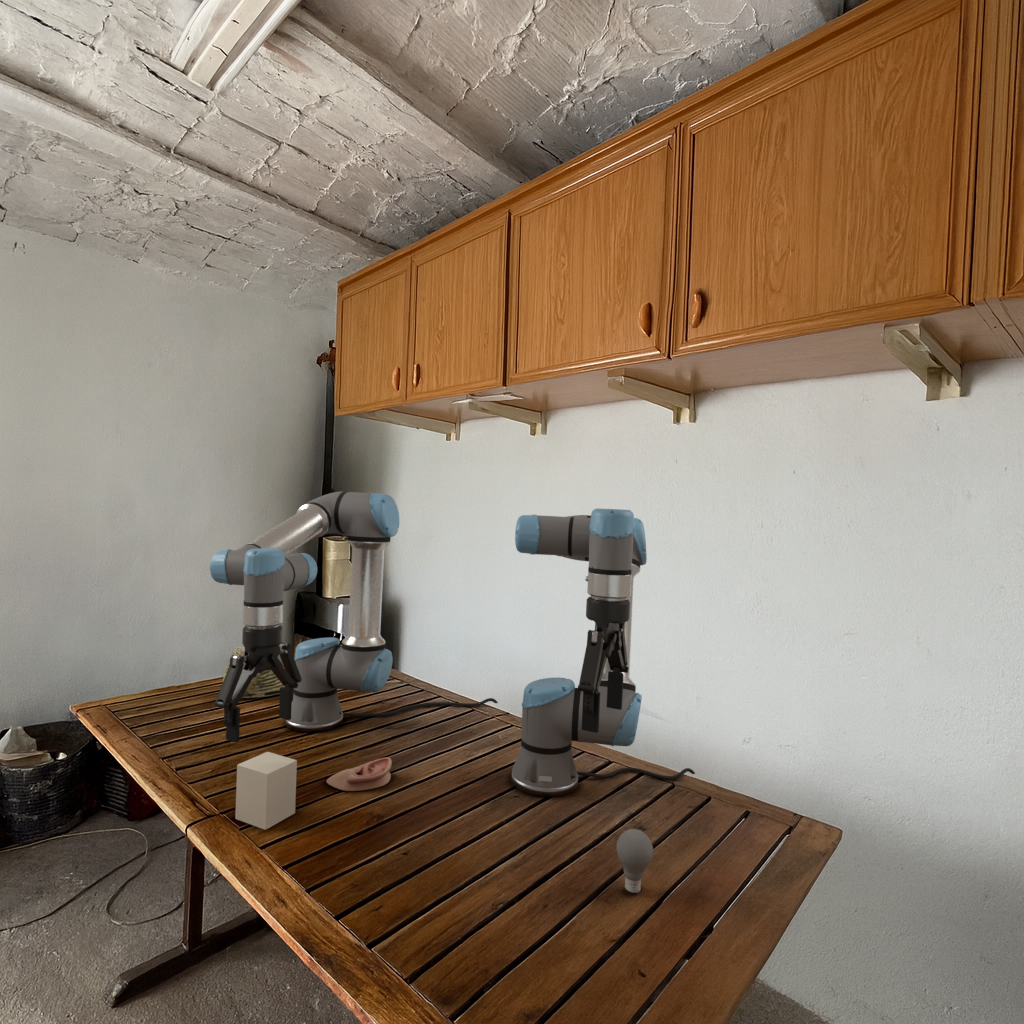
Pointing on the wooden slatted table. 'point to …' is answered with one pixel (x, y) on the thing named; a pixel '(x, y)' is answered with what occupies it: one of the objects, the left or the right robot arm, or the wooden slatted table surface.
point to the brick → (266, 790)
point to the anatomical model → (363, 776)
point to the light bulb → (634, 857)
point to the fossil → (259, 681)
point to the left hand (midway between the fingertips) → (260, 729)
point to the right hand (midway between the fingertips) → (602, 719)
